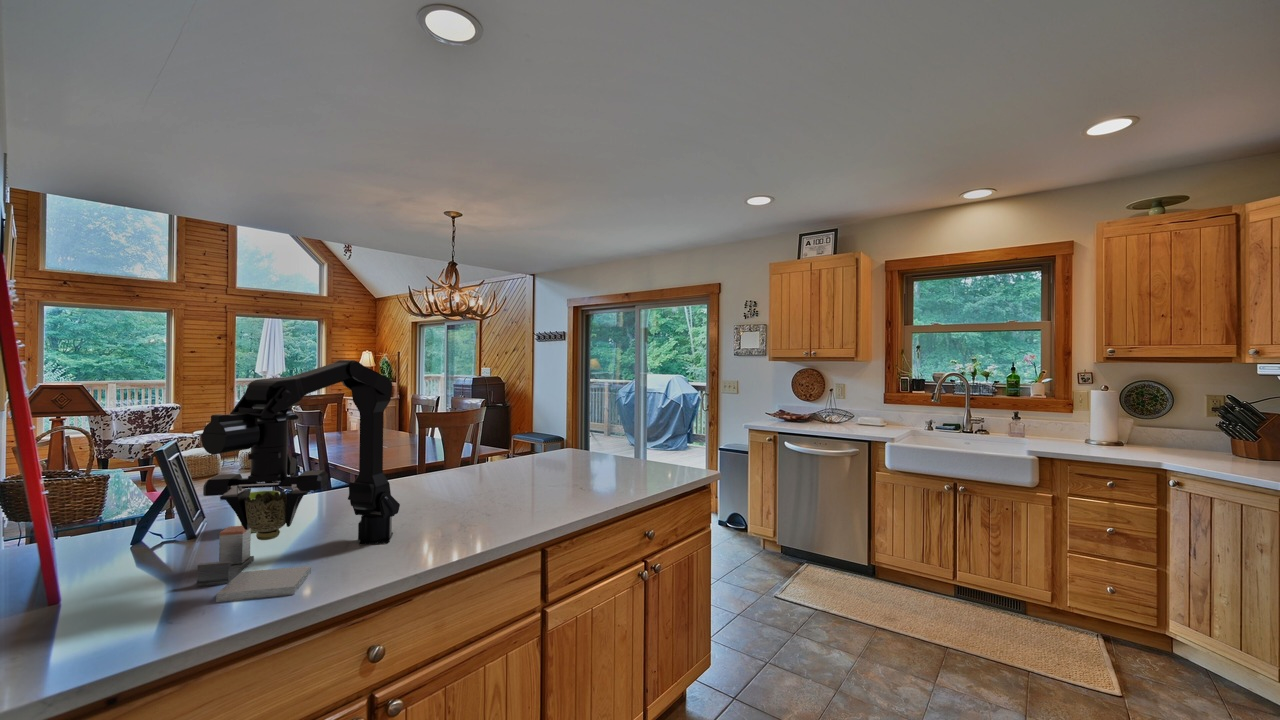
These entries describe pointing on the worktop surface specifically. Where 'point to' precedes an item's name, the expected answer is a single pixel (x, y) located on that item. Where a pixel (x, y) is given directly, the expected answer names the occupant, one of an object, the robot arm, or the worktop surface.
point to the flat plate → (264, 583)
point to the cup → (266, 514)
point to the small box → (234, 544)
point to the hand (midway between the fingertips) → (268, 527)
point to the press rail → (219, 572)
